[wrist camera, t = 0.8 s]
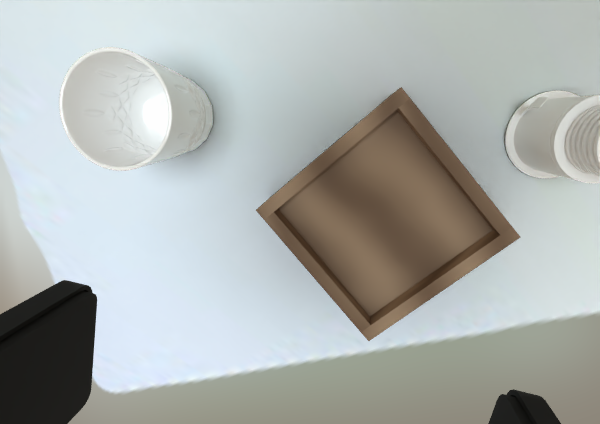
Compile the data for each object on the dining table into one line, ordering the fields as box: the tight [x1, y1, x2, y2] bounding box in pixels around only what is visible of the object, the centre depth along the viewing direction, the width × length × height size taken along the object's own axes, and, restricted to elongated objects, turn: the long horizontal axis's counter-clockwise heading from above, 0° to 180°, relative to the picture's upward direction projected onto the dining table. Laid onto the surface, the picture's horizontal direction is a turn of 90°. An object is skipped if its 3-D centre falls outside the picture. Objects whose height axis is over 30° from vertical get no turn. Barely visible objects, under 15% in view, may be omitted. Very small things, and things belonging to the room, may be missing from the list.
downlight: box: [505, 91, 600, 183], centre depth 28 cm, size 8×7×10 cm
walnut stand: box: [256, 87, 520, 341], centre depth 32 cm, size 14×14×6 cm
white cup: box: [59, 47, 213, 171], centre depth 31 cm, size 8×8×10 cm
